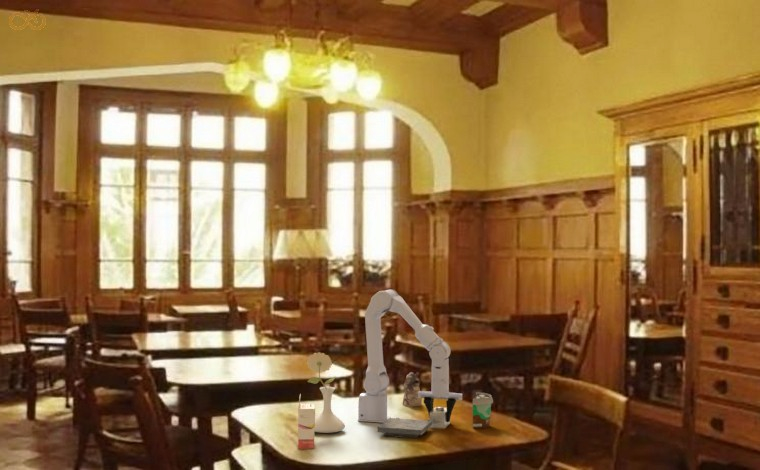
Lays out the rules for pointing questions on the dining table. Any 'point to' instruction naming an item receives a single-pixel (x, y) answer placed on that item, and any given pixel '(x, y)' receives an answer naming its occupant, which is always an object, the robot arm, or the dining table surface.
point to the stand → (404, 427)
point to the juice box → (306, 426)
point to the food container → (481, 410)
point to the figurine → (412, 390)
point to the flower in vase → (324, 395)
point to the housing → (439, 418)
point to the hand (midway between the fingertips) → (439, 420)
